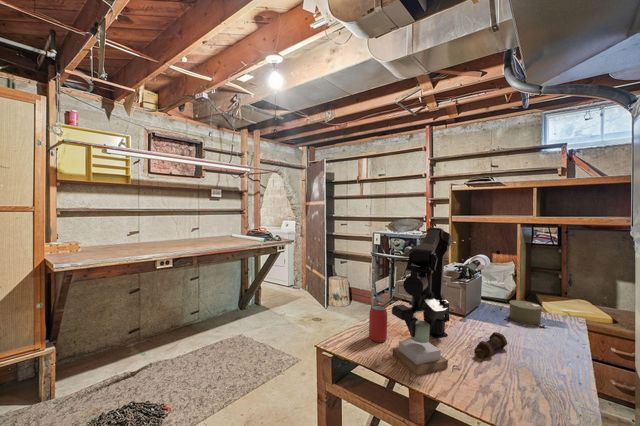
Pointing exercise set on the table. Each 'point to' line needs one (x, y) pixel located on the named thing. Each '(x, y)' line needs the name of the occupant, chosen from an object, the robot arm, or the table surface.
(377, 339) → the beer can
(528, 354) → the table surface
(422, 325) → the green cylinder
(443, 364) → the walnut base slab
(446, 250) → the robot arm
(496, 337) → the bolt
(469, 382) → the table surface
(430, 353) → the grey top slab
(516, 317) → the can
